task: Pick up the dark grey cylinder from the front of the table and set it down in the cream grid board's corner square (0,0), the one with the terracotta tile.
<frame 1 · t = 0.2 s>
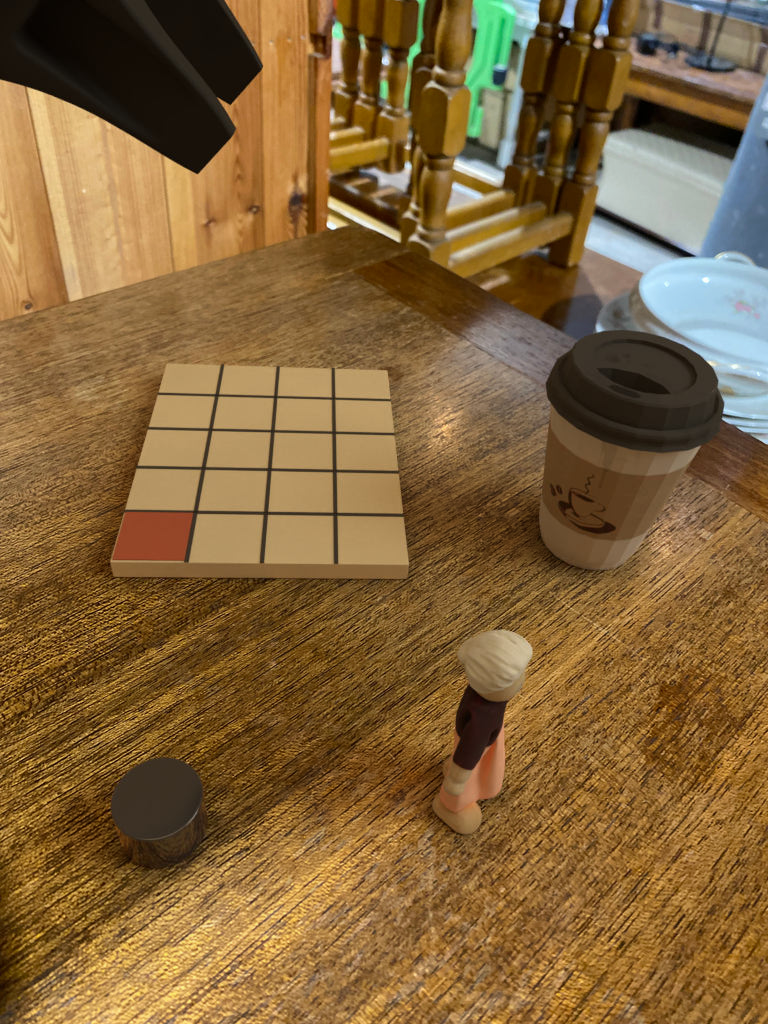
hand: (233, 116, 30), 31 cm above the table, tool tilted 45°, fingers open, 7 cm apart
coffee cup: (585, 539, 59), on the table
board: (271, 464, 63), on the table
dark grey cylinder: (164, 826, 40), on the table
grandmother figurine: (464, 786, 43), on the table
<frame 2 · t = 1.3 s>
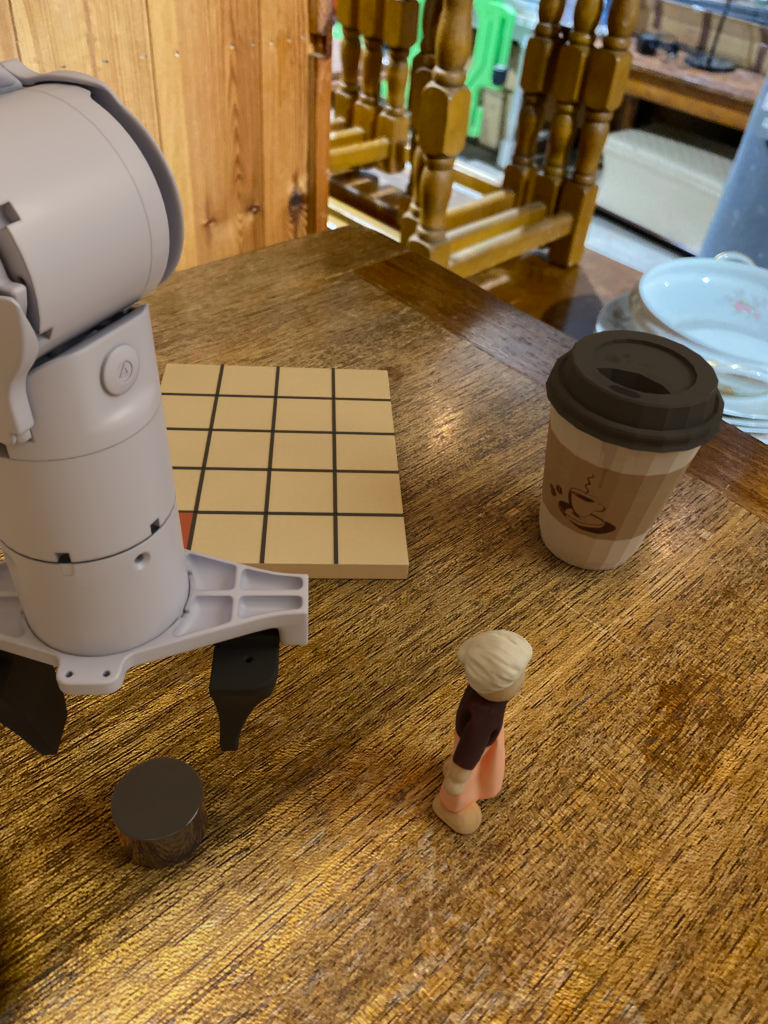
hand: (144, 733, 35), 9 cm above the table, tool pointing down, fingers open, 7 cm apart
nothing on the table moved.
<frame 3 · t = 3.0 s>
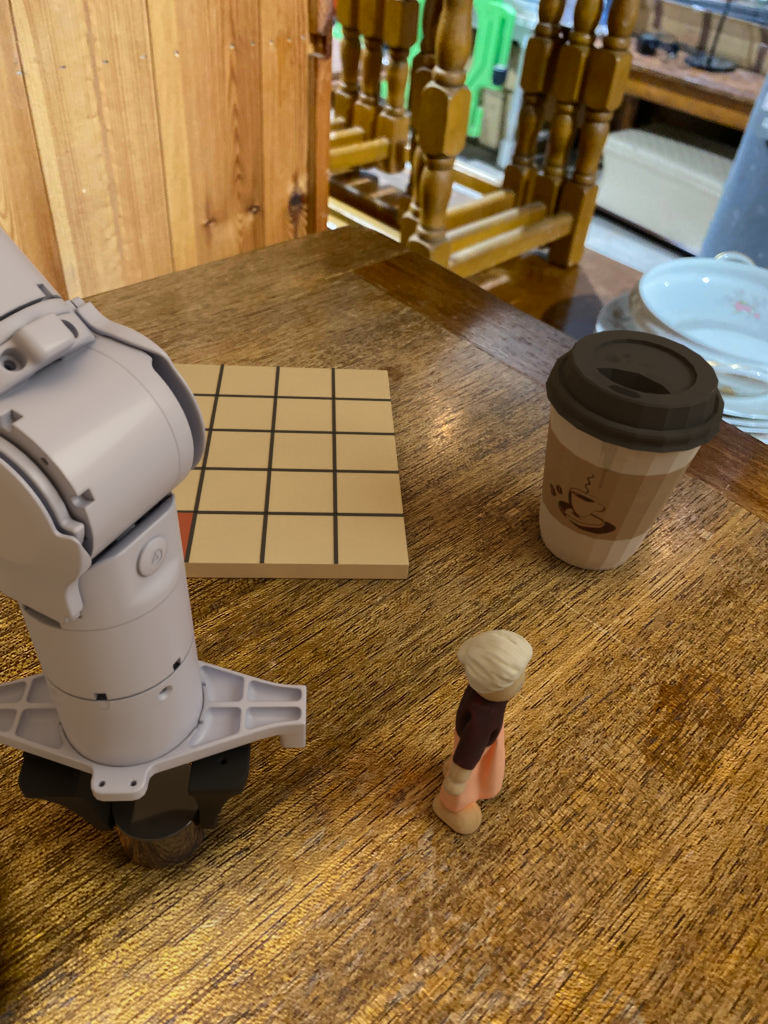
hand: (160, 810, 39), 2 cm above the table, tool pointing down, fingers closed on dark grey cylinder, 4 cm apart
dark grey cylinder: (164, 826, 40), on the table, touching gripper
everything else where it was.
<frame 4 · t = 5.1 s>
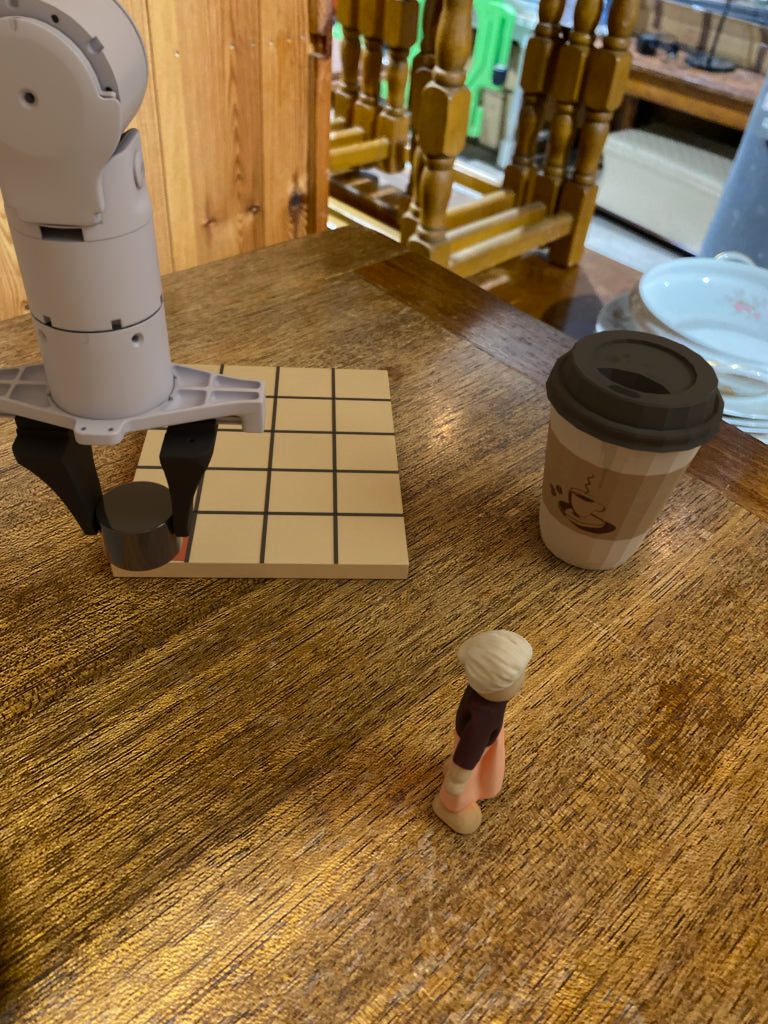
hand: (139, 524, 44), 9 cm above the table, tool pointing down, fingers closed on dark grey cylinder, 4 cm apart
dark grey cylinder: (143, 544, 45), point 7 cm above the table, touching gripper
everything else where it was.
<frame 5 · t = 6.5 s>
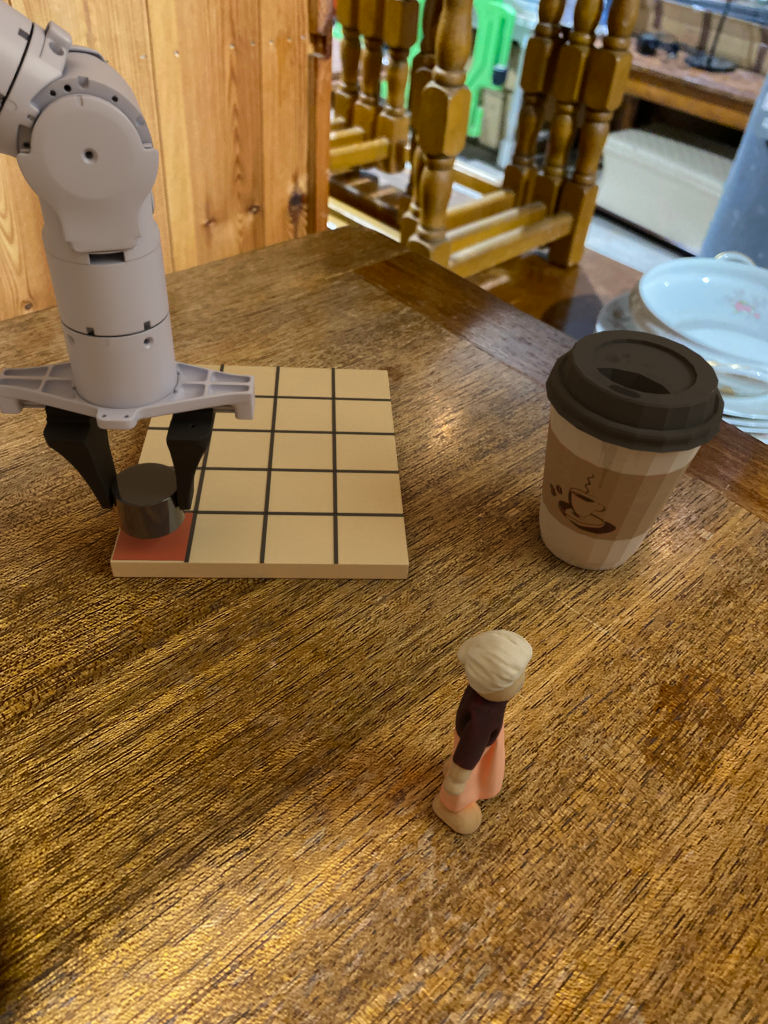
hand: (148, 499, 52), 5 cm above the table, tool pointing down, fingers closed on dark grey cylinder, 4 cm apart
dark grey cylinder: (151, 517, 53), point 3 cm above the table, touching gripper
everything else where it was.
when the fingers open (3 cm above the table, at t = 7.5 s): dark grey cylinder stays where it is, resting on board.
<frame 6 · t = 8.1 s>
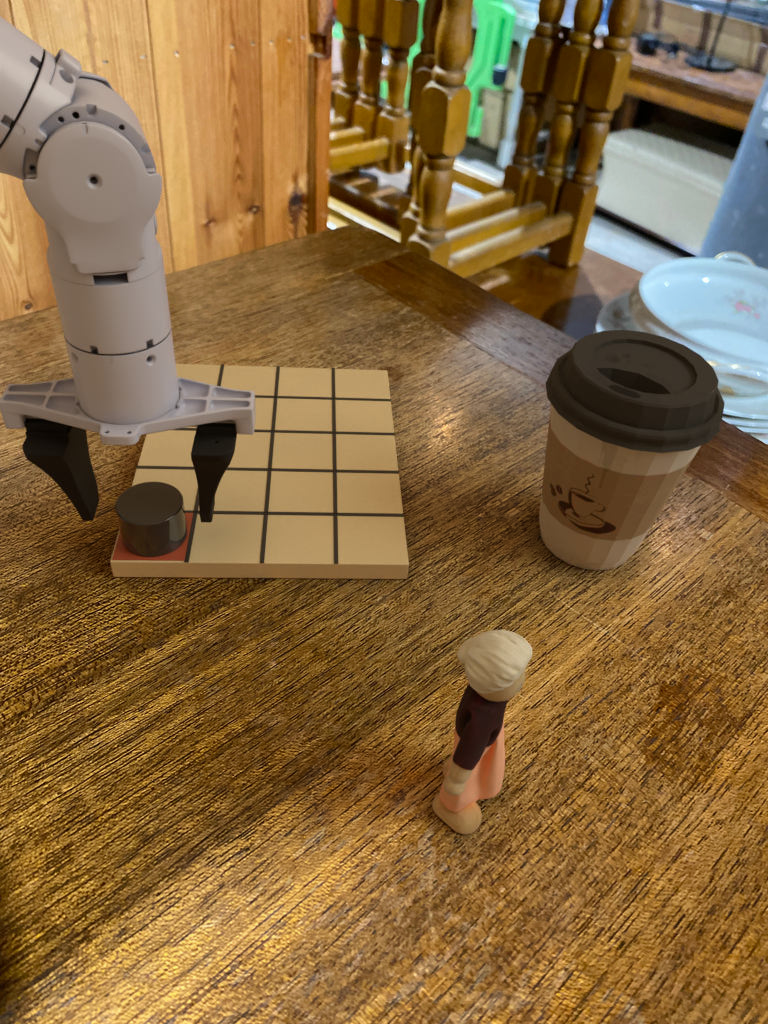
hand: (149, 511, 52), 4 cm above the table, tool pointing down, fingers open, 7 cm apart
dark grey cylinder: (154, 534, 54), point 2 cm above the table, touching board
everything else where it was.
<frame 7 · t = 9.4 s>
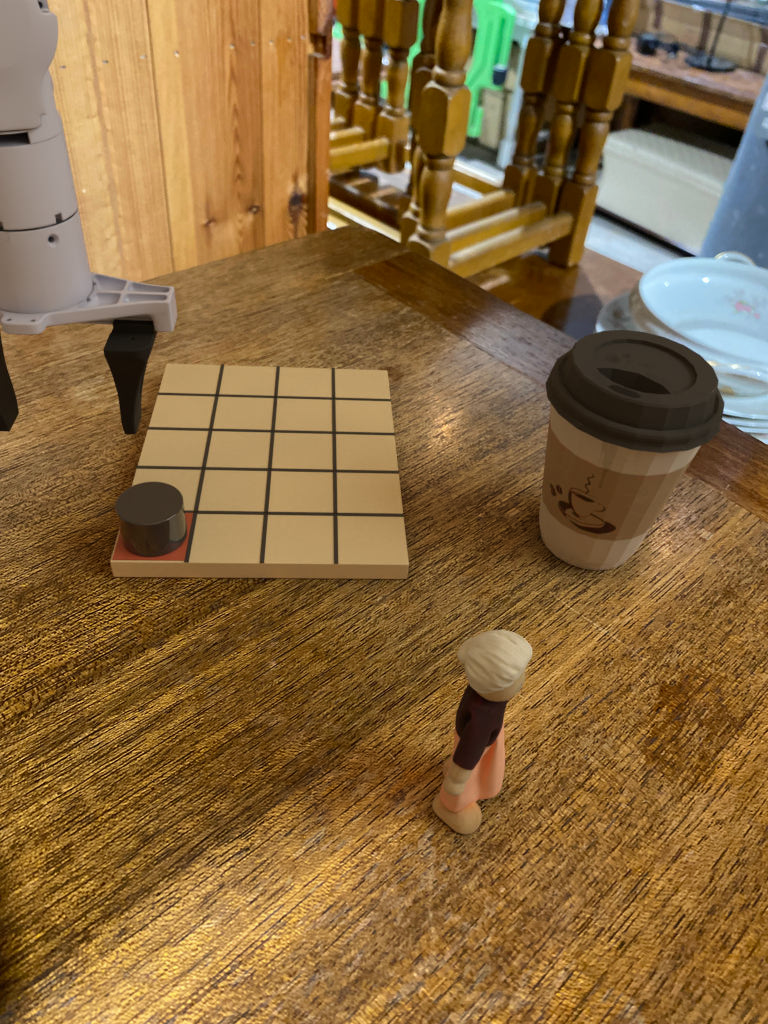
hand: (71, 423, 50), 9 cm above the table, tool pointing down, fingers open, 7 cm apart
nothing on the table moved.
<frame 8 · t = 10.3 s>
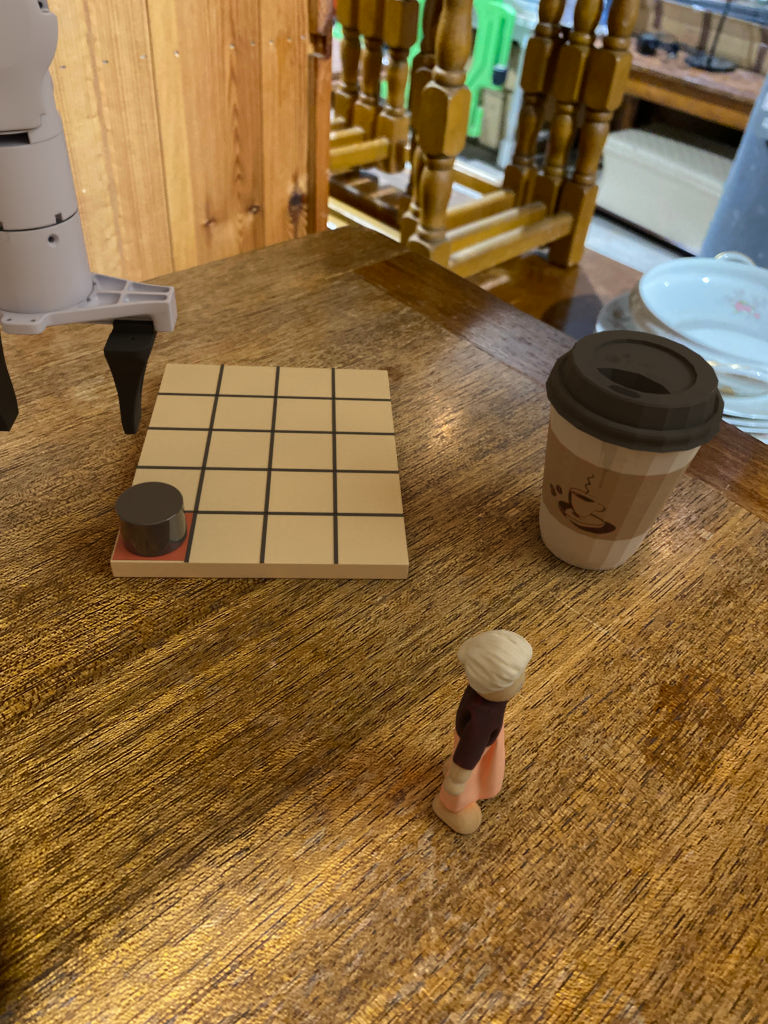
hand: (71, 423, 50), 9 cm above the table, tool pointing down, fingers open, 7 cm apart
nothing on the table moved.
at the end: dark grey cylinder 0.1 cm from the target spot on the board, point 1.6 cm above the board's base; dark grey cylinder tilted 0°; the gripper is holding nothing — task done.
